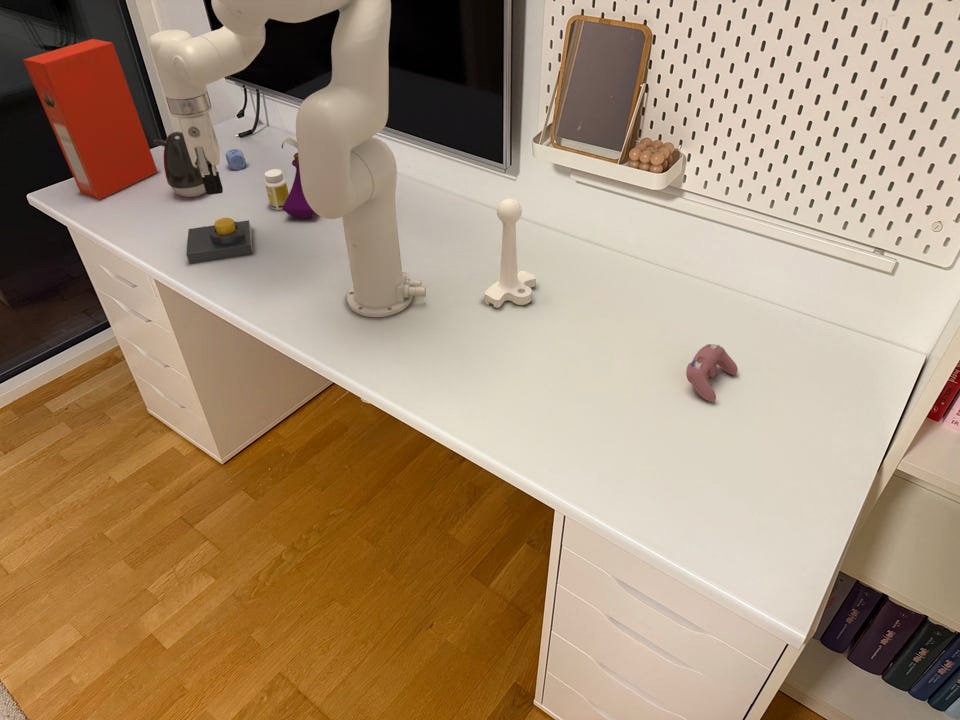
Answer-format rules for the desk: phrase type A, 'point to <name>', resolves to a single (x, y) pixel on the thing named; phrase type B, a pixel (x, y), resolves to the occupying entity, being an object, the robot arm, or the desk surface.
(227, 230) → the button
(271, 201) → the supplement bottle
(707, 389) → the video game controller
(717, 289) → the desk surface
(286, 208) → the perfume bottle
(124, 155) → the file binder
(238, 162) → the decorative dice
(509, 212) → the joystick
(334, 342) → the desk surface
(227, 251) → the console
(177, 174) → the pump dispenser
